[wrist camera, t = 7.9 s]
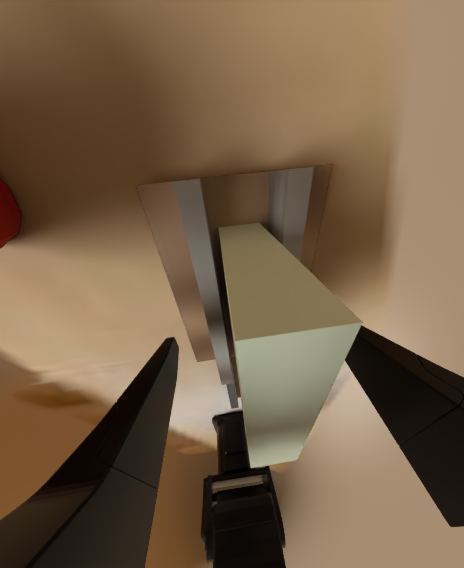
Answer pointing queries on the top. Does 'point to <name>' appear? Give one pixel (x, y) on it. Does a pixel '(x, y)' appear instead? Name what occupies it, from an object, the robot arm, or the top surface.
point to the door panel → (281, 341)
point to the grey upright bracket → (232, 392)
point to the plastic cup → (8, 215)
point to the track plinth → (206, 241)
